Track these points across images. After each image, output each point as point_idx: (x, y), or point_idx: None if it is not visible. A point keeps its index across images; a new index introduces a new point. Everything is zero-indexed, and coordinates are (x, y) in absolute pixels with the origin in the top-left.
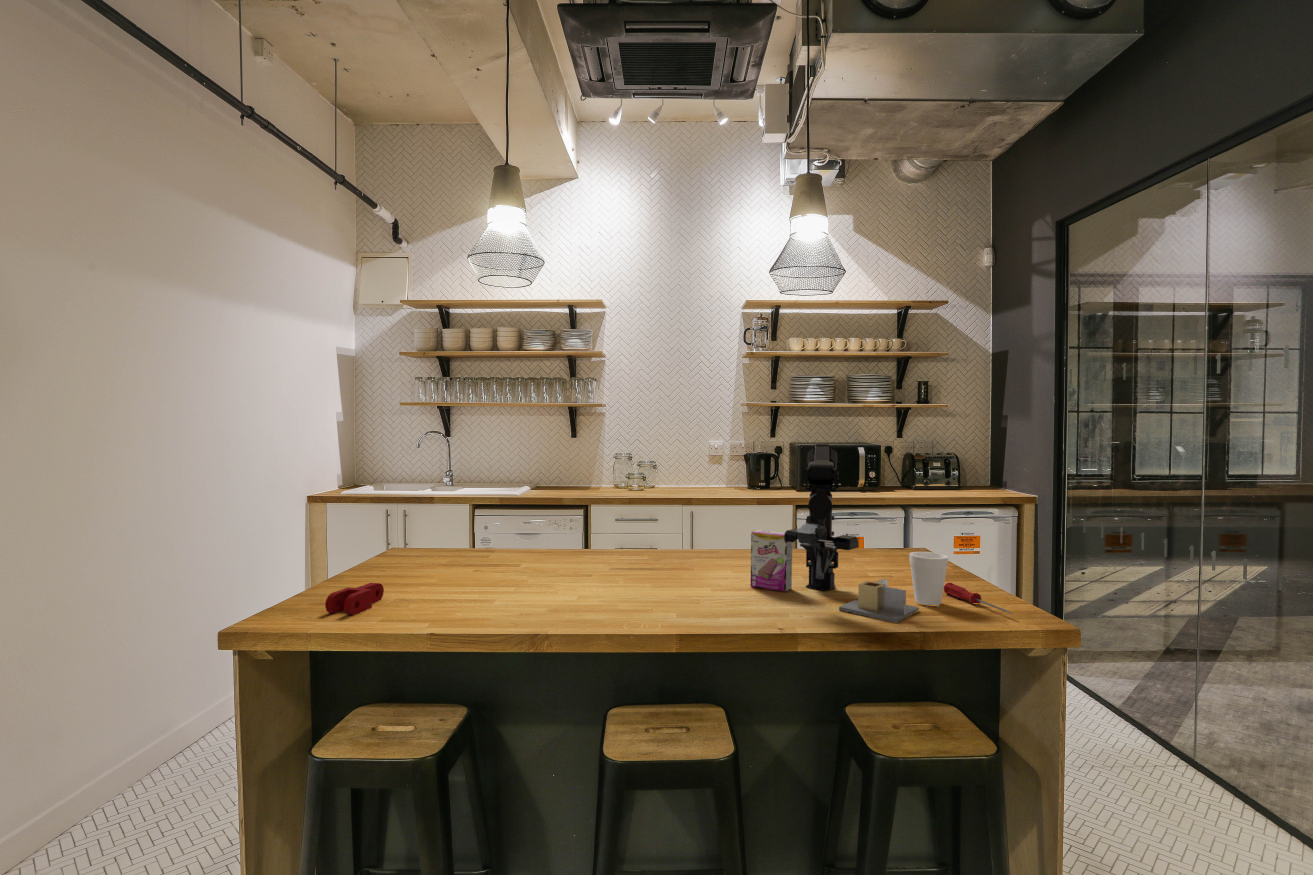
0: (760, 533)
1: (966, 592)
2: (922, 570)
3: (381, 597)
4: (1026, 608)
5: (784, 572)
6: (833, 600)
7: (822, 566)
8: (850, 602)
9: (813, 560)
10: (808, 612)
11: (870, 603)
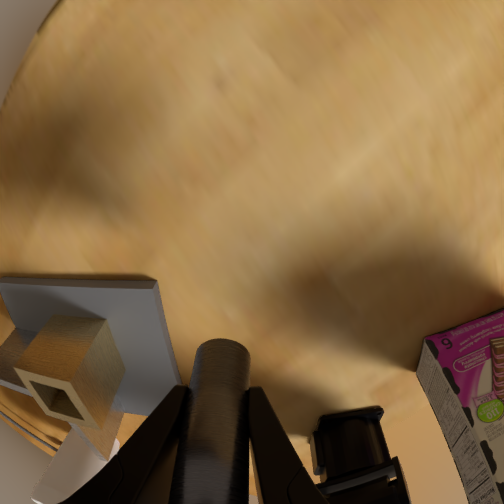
0: None
1: None
2: (56, 481)
3: None
4: (36, 445)
5: (458, 384)
6: (251, 369)
7: (169, 418)
8: (166, 358)
9: (260, 457)
10: (228, 162)
11: (59, 330)
